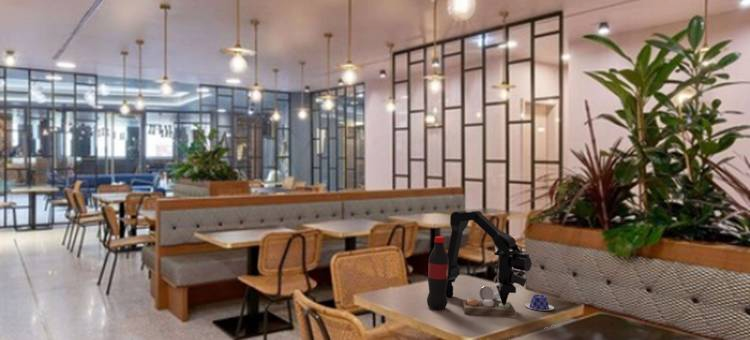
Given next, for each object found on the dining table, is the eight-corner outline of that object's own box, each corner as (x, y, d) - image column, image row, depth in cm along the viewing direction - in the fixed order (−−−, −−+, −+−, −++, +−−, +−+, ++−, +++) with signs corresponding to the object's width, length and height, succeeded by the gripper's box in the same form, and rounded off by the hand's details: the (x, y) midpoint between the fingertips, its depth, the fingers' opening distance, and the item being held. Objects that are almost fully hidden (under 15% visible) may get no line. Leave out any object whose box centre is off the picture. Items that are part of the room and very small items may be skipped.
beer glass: (491, 282, 240) (482, 282, 227) (505, 289, 237) (497, 290, 224) (485, 296, 240) (475, 297, 227) (499, 303, 237) (490, 305, 224)
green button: (499, 312, 218) (499, 305, 218) (497, 309, 222) (497, 302, 222) (510, 313, 218) (510, 306, 217) (508, 310, 222) (508, 303, 222)
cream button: (483, 308, 219) (483, 302, 218) (481, 305, 223) (482, 299, 223) (494, 309, 218) (494, 302, 218) (492, 306, 222) (492, 299, 222)
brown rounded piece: (467, 307, 219) (467, 301, 219) (466, 304, 223) (466, 298, 223) (477, 308, 219) (478, 301, 219) (476, 305, 223) (477, 298, 223)
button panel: (464, 313, 215) (464, 307, 215) (462, 305, 227) (462, 299, 227) (514, 316, 214) (515, 310, 214) (509, 308, 226) (510, 302, 226)
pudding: (550, 314, 220) (551, 301, 220) (521, 309, 226) (522, 296, 226) (556, 307, 231) (557, 295, 231) (528, 302, 237) (529, 290, 237)
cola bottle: (448, 306, 225) (451, 236, 224) (444, 312, 217) (447, 238, 216) (429, 304, 228) (431, 234, 227) (424, 309, 220) (427, 237, 219)
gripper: (529, 273, 209) (528, 312, 210) (521, 263, 228) (519, 299, 228) (501, 271, 210) (499, 310, 211) (494, 262, 229) (493, 298, 229)
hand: (503, 304), depth 220 cm, fingers closed, pressing on green button
